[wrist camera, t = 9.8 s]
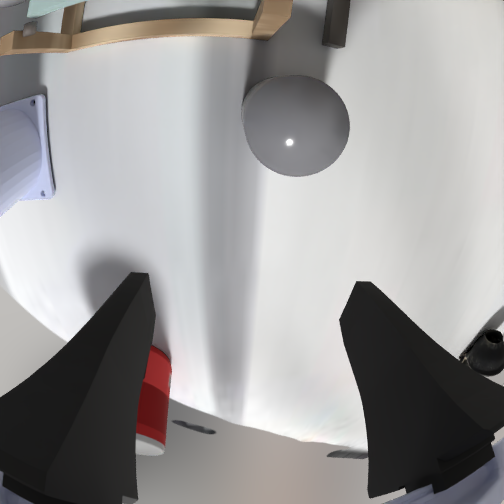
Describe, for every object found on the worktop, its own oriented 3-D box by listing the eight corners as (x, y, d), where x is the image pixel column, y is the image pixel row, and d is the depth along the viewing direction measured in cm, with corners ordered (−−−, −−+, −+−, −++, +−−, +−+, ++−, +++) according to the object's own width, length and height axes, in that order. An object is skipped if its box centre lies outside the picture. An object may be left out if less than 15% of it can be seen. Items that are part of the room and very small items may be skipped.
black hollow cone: (519, 330, 29) (492, 398, 34) (475, 312, 39) (457, 379, 44) (504, 358, 26) (472, 426, 31) (455, 336, 36) (435, 403, 41)
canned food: (145, 331, 26) (126, 432, 17) (185, 370, 30) (180, 456, 21) (96, 344, 27) (73, 428, 18) (137, 378, 32) (126, 454, 23)
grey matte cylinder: (237, 146, 16) (239, 171, 12) (245, 71, 14) (251, 68, 10) (312, 154, 17) (338, 182, 13) (324, 84, 14) (357, 88, 10)
